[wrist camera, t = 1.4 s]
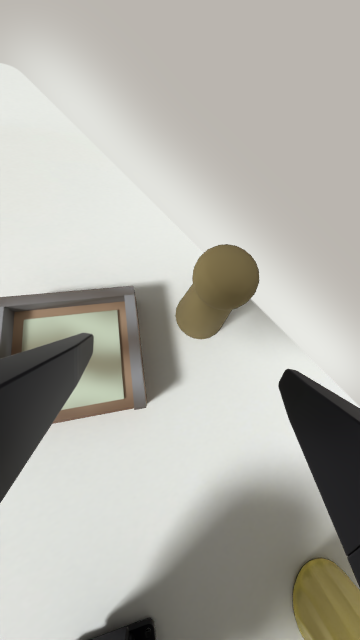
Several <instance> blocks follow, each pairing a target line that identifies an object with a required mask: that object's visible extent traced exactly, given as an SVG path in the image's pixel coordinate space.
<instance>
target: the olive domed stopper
mask: <svg viewBox="0 0 360 640" xmlns="http://www.w3.org/2000/svg"><path fill="white" fill-rule="evenodd" d="M258 283H259V270H258V267H257V264H256V262H255V260H254V259H253V258H252V256H251V255H250V254H248V253H247V252H246V251H245V250H243V249H241V248H239V247H237V246H233V245H228V244H226V245H218V246H215V247H213V248H210V249H208V250H207V251H206V252H205V253H203V254H202V255H201V256H200V258H199V259H198V261H197V263H196V265H195V267H194V270H193V284H192V285H191V287H190V288H189V290H188V291H187V292H186V294H185V295H184V297H183V298H182V299H181V301H180V302H179V304H178V306H177V308H176V315H175V316H176V321H177V324H178V326H179V327H180V329H181V330H182V331H183V332H184V333H185V334H186V335H188V336H190V337H192V338H196V339H206V338H210V337H211V336H213V335H215V334H216V333H217V332H218V331H219V330H220V328H221V327H222V325H223V323H224V322H225V320H226V319H227V317H228V315H229V314H230V312H231V311H232V309H235V308H238V307H240V306H242V305H244V304H245V303H247V302H248V301H249V300H250V299H251V297H252V296H253V295H254V293H255V292H256V289H257V286H258Z"/></svg>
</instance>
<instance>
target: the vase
mask: <svg viewBox="0 0 360 640" xmlns="http://www.w3.org/2000/svg"><path fill="white" fill-rule="evenodd" d="M293 608H294V614H295V618H296V622H297V625H298V627H299V630H300V632H301V634H302V636H303V638H304V640H360V590H359V589H358V588H357V587H356V586H355V585H354V583H353V582H352V581H351V580H350V579H349V577H348V576H347V575H346V574H345V573H344V572H343V570H342V569H340V568H339V567H338V566H337V565H336V564H335V563H334V562H332V561H330V560H327V559H323V558H317V559H313V560H311V561H309V562H308V563H306V564H305V565H304V566H303V567H302V569H301V570H300V572H299V574H298V576H297V579H296V582H295V585H294V591H293Z"/></svg>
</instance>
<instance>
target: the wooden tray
mask: <svg viewBox="0 0 360 640" xmlns="http://www.w3.org/2000/svg"><path fill="white" fill-rule="evenodd" d="M80 333H89V334H93V336H94V345H93V354H92V356H91V358H90V360H89V363H88V365H87V367H86V369H85V371H84V373H83V375H82V377H81V379H80V381H79V382H78V384H77V386H76V388H75V389H74V391H73V392H72V394H71V395H70V397H69V398H68V400H67V402H66V403H65V405H64V406H63V408H62V409H61V411H60V412H59V414H58V415H57V417H56V418H55V420H54V421H53V423H59V422H64V421H69V420H74V419H80V418H85V417H90V416H96V415H101V414H106V413H111V412H117V411H122V410H127V409H133V408H134V410H136V409H142V408H146V406H147V397H146V388H145V379H144V369H143V360H142V351H141V341H140V332H139V323H138V313H137V304H136V297H135V292H134V287H133V286H126V287H115V288H103V289H91V290H80V291H68V292H56V293H44V294H33V295H21V296H9V297H0V359H1V358H5V357H8V356H11V355H14V354H17V353H20V352H24V351H27V350H30V349H33V348H36V347H39V346H42V345H46V344H49V343H52V342H55V341H58V340H61V339H65V338H68V337H71V336H74V335H77V334H80ZM53 423H52V424H53Z"/></svg>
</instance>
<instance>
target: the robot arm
mask: <svg viewBox="0 0 360 640" xmlns="http://www.w3.org/2000/svg"><path fill="white" fill-rule="evenodd" d="M93 345H94V336H93V334H89V333H80V334H77V335H74V336H71V337H68V338H65V339H61V340H58V341H55V342H52V343H49V344H46V345H42V346H39V347H36V348H33V349H30V350H27V351H24V352H20V353H17V354H14V355H11V356H8V357H5V358H1V359H0V503H1V501H2V500H3V498H4V497H5V495H6V494H7V492H8V490H9V489H10V487H11V486H12V484H13V483H14V481H15V480H16V478H17V477H18V475H19V474H20V472H21V471H22V469H23V467H24V466H25V464H26V463H27V461H28V460H29V458H30V457H31V455H32V454H33V452H34V451H35V449H36V448H37V446H38V444H39V443H40V441H41V440H42V438H43V437H44V435H45V434H46V432H47V431H48V429H49V428H50V426H51V425H52V423H53V421H54V420H55V418H56V417H57V415H58V414H59V412H60V411H61V409H62V408H63V406H64V405H65V403H66V402H67V400H68V398H69V397H70V395H71V394H72V392H73V391H74V389H75V388H76V386H77V384H78V382H79V381H80V379H81V377H82V375H83V373H84V371H85V369H86V367H87V365H88V363H89V360H90V358H91V356H92V354H93ZM279 390H280V393H281V396H282V399H283V402H284V406H285V409H286V412H287V415H288V418H289V420H290V423H291V425H292V428H293V430H294V432H295V435H296V437H297V440H298V442H299V444H300V447H301V449H302V451H303V454H304V456H305V459H306V461H307V463H308V466H309V468H310V470H311V473H312V475H313V477H314V480H315V482H316V485H317V487H318V489H319V492H320V494H321V496H322V499H323V501H324V503H325V506H326V508H327V511H328V513H329V515H330V518H331V520H332V522H333V525H334V527H335V530H336V532H337V534H338V537H339V539H340V541H341V544H342V546H343V548H344V551H345V553H346V555H347V556H348V557H347V558H348V561H349V563H350V566H351V568H352V570H353V573H354V575H355V577H356V580H357V582H358V585H359V587H360V408H358V407H356V406H355V405H353V404H351V403H350V402H348V401H346V400H345V399H343V398H341V397H340V396H338V395H336V394H335V393H333V392H331V391H330V390H328V389H326V388H325V387H323V386H321V385H320V384H318V383H316V382H315V381H313V380H311V379H310V378H308V377H306V376H305V375H303V374H301V373H300V372H298V371H296V370H292V369H286V370H285V372H284V373H283V375H282V377H281V379H280V381H279ZM148 628H150V629H151V630H150V631H149V632H147V631H146V629H148ZM91 640H156V634H155V624H154V621H153V619H151V618H147V619H144V620H142V621H139V622H136V623H134V624H131V625H128V626H126V627H123V628H120V629H117V630H115V631H112V632H109V633H107V634H104V635H101V636H99V637H96V638H93V639H91Z"/></svg>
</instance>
